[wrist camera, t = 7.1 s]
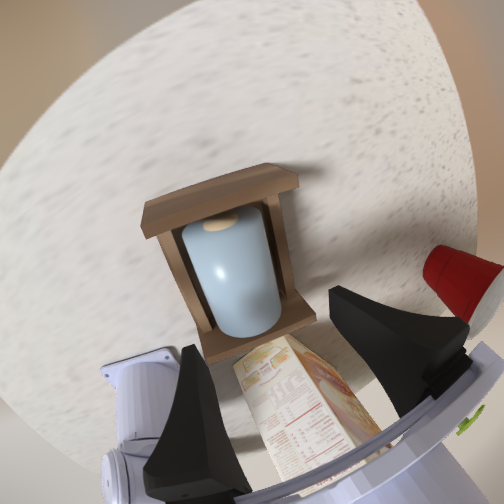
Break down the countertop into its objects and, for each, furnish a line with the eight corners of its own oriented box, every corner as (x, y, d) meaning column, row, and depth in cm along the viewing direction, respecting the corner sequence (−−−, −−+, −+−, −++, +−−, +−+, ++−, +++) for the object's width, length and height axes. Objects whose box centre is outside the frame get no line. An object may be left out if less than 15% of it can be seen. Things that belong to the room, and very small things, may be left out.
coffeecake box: (337, 367, 34) (414, 471, 18) (298, 398, 35) (362, 504, 18) (280, 323, 26) (392, 491, 10) (229, 365, 27) (304, 534, 10)
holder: (290, 288, 25) (316, 320, 20) (197, 324, 23) (208, 365, 19) (265, 162, 19) (297, 173, 15) (145, 202, 17) (140, 226, 13)
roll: (280, 288, 22) (283, 334, 18) (221, 297, 23) (212, 341, 18) (261, 198, 18) (260, 231, 14) (192, 212, 19) (170, 248, 15)
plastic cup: (404, 264, 29) (476, 316, 19) (450, 213, 29) (518, 249, 19) (413, 309, 35) (466, 355, 25) (453, 264, 35) (506, 300, 25)
